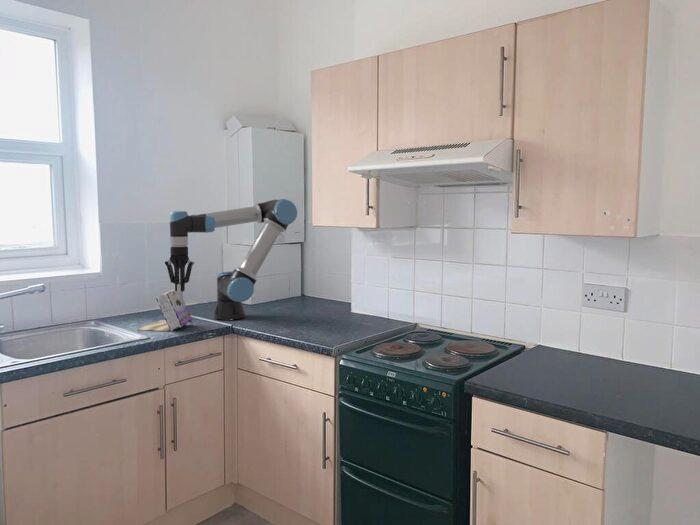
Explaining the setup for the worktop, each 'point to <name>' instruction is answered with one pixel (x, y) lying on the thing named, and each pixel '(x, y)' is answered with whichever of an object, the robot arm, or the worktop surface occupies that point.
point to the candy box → (173, 310)
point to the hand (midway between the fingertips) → (180, 298)
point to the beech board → (155, 327)
